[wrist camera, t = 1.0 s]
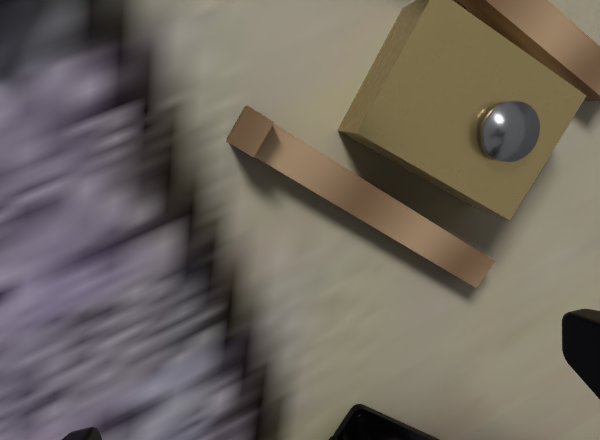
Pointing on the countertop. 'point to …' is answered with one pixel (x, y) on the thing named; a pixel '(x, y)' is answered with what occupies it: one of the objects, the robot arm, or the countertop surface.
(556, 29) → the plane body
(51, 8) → the countertop surface
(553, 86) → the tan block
